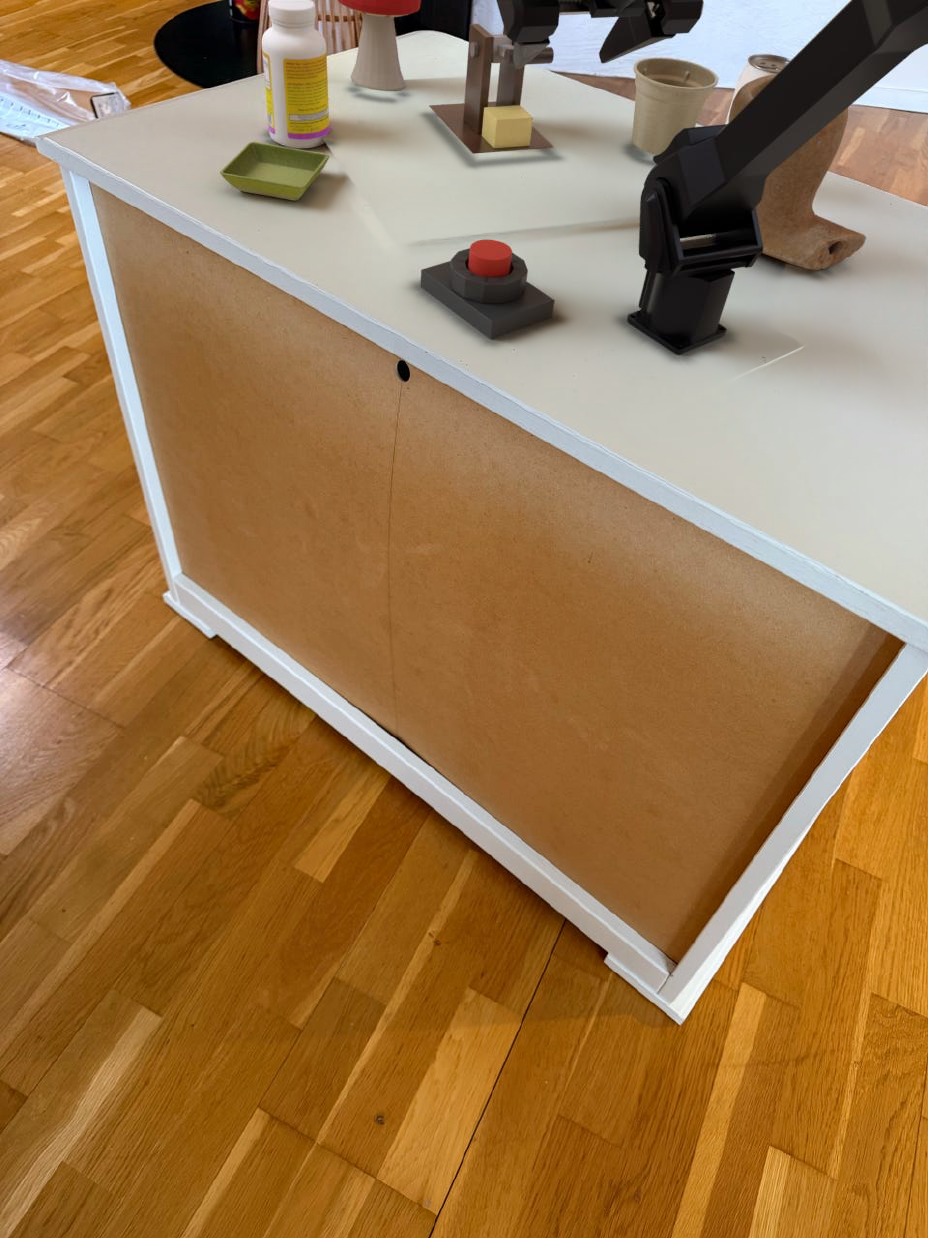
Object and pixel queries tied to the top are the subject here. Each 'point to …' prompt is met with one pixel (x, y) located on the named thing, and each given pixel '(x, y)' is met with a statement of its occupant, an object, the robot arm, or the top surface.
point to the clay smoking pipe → (801, 198)
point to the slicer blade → (505, 52)
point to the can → (759, 70)
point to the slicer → (484, 96)
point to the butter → (507, 126)
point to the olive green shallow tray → (274, 170)
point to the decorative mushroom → (379, 43)
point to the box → (488, 295)
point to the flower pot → (668, 100)
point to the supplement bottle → (295, 75)
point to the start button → (490, 258)
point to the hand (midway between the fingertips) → (559, 61)
